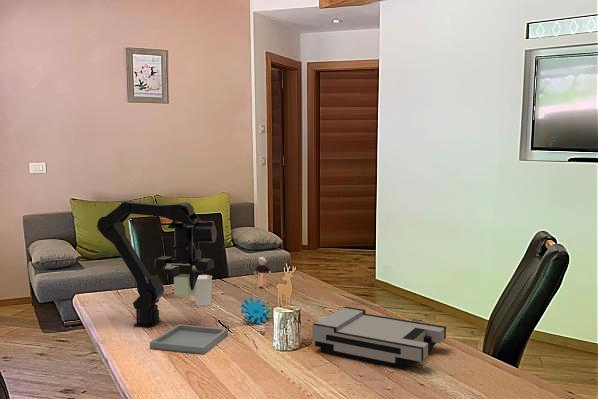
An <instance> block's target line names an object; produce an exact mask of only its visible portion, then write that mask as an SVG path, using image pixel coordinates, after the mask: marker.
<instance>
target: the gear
mask: <svg viewBox="0 0 598 399" xmlns="http://www.w3.org/2000/svg"><path fill="white" fill-rule="evenodd" d="M249 301H250V303H249ZM254 301H255V297H254V296H253V297H252V296H250V298H245V299H244V300H243V302H242V303H241V306H240V307H241V310H240V313H241V314H244V316H243V318H244V319H245V320H249V323H250V324H254V323H255V324H256V325H260V324H261V323H266V322H267V319H268V318H269V316H270V314H269V313H270V312H271V310H272V307H270V306H269V307H267V308H266V305H267V304H266V302H262V303H261V298H259V297H258V298H257V299H256V301H255V302H254ZM255 320H257V321H256V322H255Z"/></svg>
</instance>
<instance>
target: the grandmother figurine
mask: <svg viewBox="0 0 598 399" xmlns="http://www.w3.org/2000/svg"><path fill="white" fill-rule="evenodd" d="M266 263H268V262H267V259H266V258H265V257H264V256H259V257H258V264H259V265H258V266H256V268H255V269H254V272H253V274H254V275H257V285H256V286H255V289H257V288H259V289H260V288H261V289H266V288H267V282H268V281H267V279H268V278H267V273H268V275H269V276H271V275H272V272H271V268H269V266H267V265H265V264H266Z"/></svg>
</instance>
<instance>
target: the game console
mask: <svg viewBox="0 0 598 399" xmlns="http://www.w3.org/2000/svg"><path fill="white" fill-rule="evenodd" d="M311 327H312V329H311V331H312V332H311V333H312V335H311V336H312V338H311V340H312V341H314V346H315V347H317V348H320V353H322V354H327V355H330V356H331V355H332V356H337V357H341V358H346V359H351V360H355V361H356V360H357V361H360V362H366V363H369V364H374V365H380V366H385V367H389V368H394V369H399V370H405V369H406V368H407V367H409V366H411V367H413V366H415V365H416V363H418V362H421V363H422V361H424V360H425V359H426V358H427V357H428V356H429V351H430V350H431V349H432V348H434V346H436V344H441V343H442V342H443V341H444V340H445V339H447V327H446V326H445V325H438V324H433V323H432V324H431V323H428V322H427V323H424V322H419V321H413V320H407V319H400V318H395V317H388V316H383V315H377V314H376V315H375V314H371V313H370V314H369V313H366V309H364V308H363V309H362V308H357V307H356V308H355V307H351V306H344V307H342V308H341V309H340V308H339V309H338V310H336V311H335V312H333V313H330V314H329V315H328V316H326V317H324V318H322V319H320V320H318V321H316V322H315V323H313V324H312V326H311Z"/></svg>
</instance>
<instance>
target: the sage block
mask: <svg viewBox="0 0 598 399" xmlns="http://www.w3.org/2000/svg"><path fill="white" fill-rule="evenodd" d="M173 288H174V289H173V293H174V294H173V295H174V297H175V296H176V297H186V298H188V297H191V296H192V295H195V293H196V284H195V287H194V290H191V287H190V276H189V273H188V274H187V273H179V275H178V276H176V277H174V284H173Z"/></svg>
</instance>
